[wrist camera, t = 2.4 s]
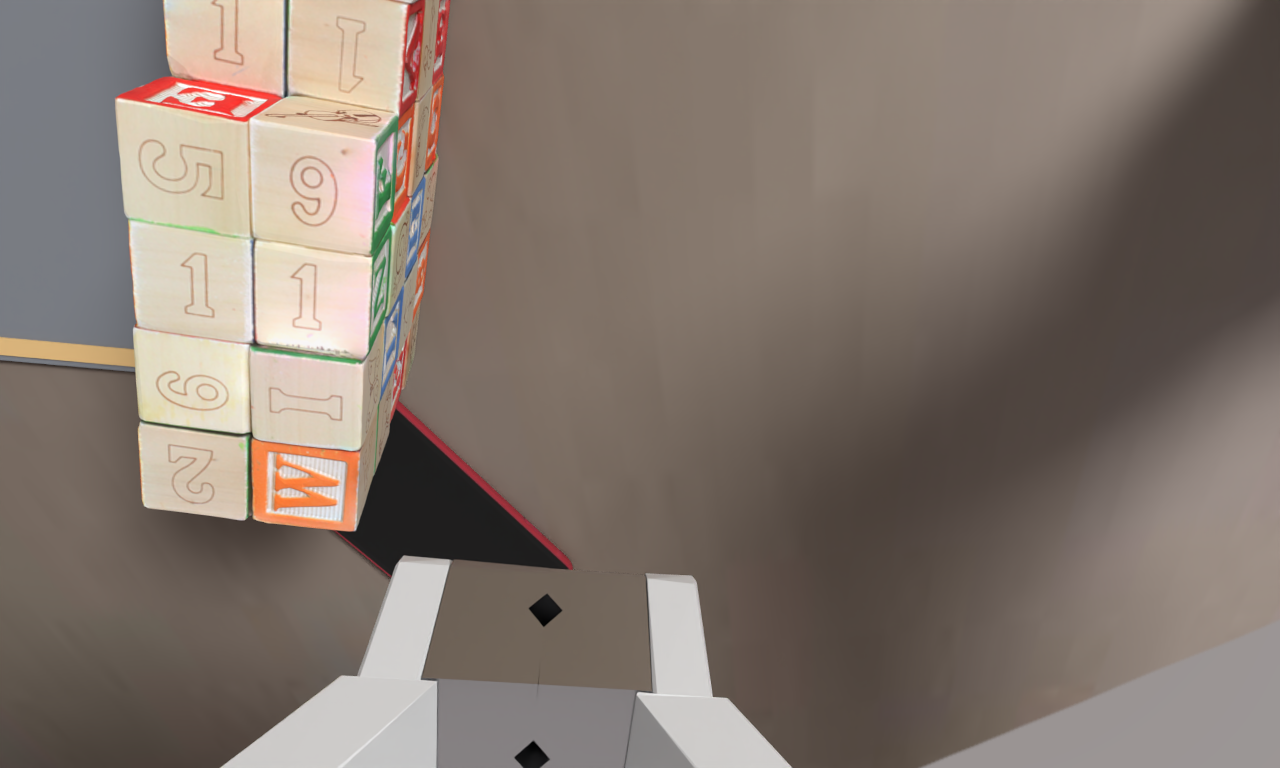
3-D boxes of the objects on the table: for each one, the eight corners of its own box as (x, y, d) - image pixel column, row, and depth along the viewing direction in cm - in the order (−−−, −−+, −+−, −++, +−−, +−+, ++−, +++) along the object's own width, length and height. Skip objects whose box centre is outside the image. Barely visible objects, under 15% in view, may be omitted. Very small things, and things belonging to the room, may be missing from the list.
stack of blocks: (277, -275, 26) (72, -419, 16) (479, -221, 27) (420, -320, 17) (267, 339, 36) (136, 515, 25) (417, 362, 37) (354, 541, 26)
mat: (211, -345, 26) (206, -349, 25) (278, 381, 37) (274, 385, 37) (-246, -414, 25) (-259, -418, 24) (-34, 353, 36) (-40, 357, 36)
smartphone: (352, 364, 36) (580, 574, 42) (358, 355, 37) (580, 562, 43) (241, 456, 38) (472, 646, 44) (249, 446, 39) (474, 633, 45)
